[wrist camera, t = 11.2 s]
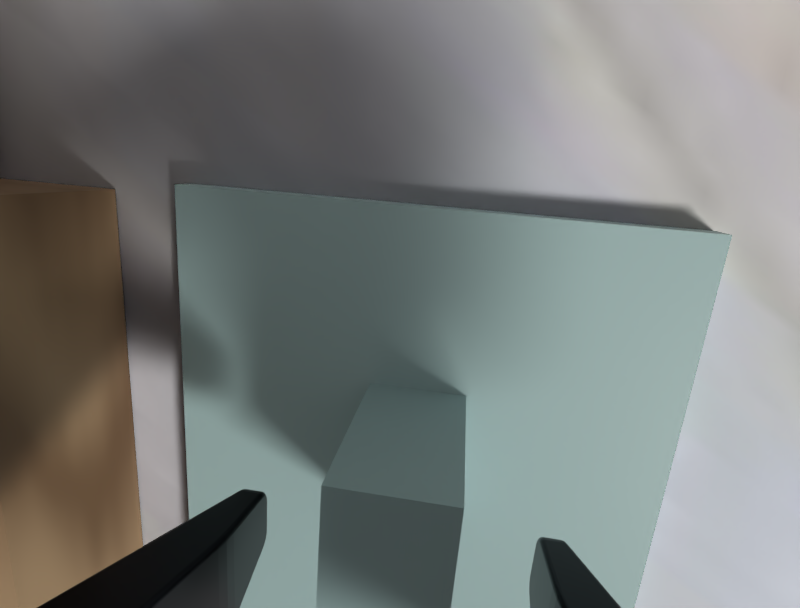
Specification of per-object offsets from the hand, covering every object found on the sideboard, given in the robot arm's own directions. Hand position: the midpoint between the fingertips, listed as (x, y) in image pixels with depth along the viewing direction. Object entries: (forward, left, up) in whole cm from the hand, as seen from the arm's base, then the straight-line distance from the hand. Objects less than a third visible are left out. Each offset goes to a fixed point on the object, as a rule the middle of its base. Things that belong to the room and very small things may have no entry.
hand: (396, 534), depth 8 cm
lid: (0, 0, -4) cm, 4 cm away
